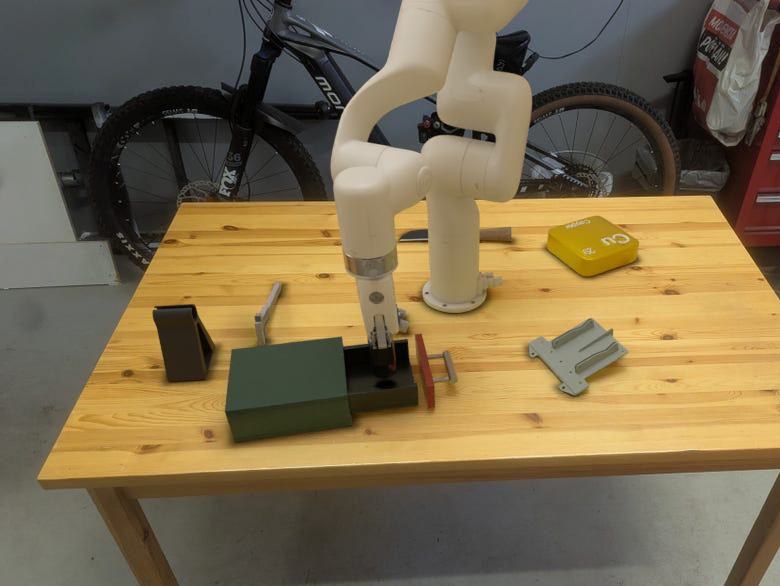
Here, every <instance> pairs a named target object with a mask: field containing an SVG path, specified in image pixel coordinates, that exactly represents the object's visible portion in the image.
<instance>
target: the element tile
mask: <svg viewBox="0 0 780 586" xmlns="http://www.w3.org/2000/svg"><path fill="white" fill-rule="evenodd" d="M639 247H640V241H639V239H637V238H636V237H634V236H633V235H630V233H628V232H626V231H625V230H623V229H621V227H619V226H617V225H616V224H614V223H612V222H611V221H609V220H608V219H607V218H605V217H603V216H601V215H592V216H588V217H585V218H581V219H578V220H575V221H571V222H568V223H564V224H561V225H558V226H555V227H551V228H550V229H549V230H548V231H547V238H546V249H547V250H548V251H549V252H550V253H551V254H553V255H554V256H555V257H556V258H558V259H559V260H560V261H561V262H563V263H564V264H566V265H567V266H568V267H569V268H571V269H572V270H573V271H574V272H576V273H577V274H578V275H580V276H583V277H589V278H590V277H594V276H596V275H597V276H598V275H600V274H603V273H605V272H608V271H610V270H614V269H617V268H620V267H623V266H626V265H629V264H631V263H634V262H635V261H636V260H637V256H638V252H639Z"/></svg>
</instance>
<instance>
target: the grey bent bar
mask: <svg viewBox="0 0 780 586" xmlns="http://www.w3.org/2000/svg"><path fill="white" fill-rule="evenodd" d="M282 286H283V283H282V282H274V285H273V286H272V288H271V291H270V294H269V295H268V298H267V300H266V302H265V304H264V306H262V307H261V309H260V311H259V312H255V315H254V327H255V334H256V339H257V343H258V346H264V345H267V344H268V340H269V338H268V329H267V326H268V325H269V324H270V321H271V313H272V312H273V309H274V307H275V305H276V302H277V300H278V298H279V296H280V294H281V292H282V289H283V288H282Z"/></svg>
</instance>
